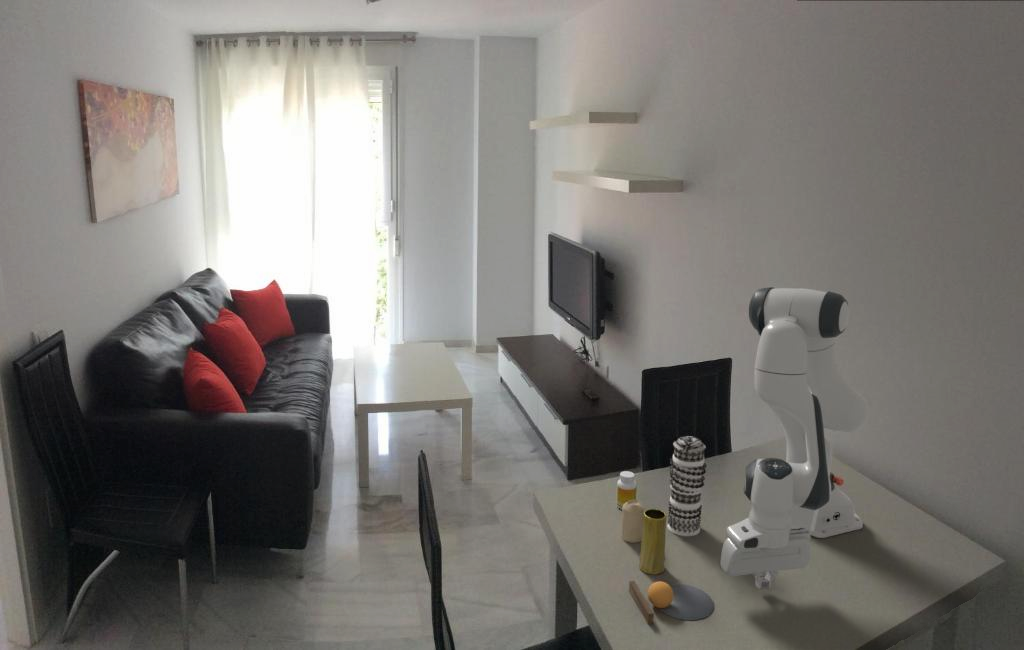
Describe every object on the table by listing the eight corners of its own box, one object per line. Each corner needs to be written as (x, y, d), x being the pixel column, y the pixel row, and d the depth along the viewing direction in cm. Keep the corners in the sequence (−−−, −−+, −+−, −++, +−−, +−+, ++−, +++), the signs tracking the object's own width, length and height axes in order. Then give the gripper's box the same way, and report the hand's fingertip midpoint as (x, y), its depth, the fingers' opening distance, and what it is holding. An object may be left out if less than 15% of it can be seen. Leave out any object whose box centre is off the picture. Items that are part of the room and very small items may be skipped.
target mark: (698, 581, 174) (698, 581, 174) (724, 616, 161) (724, 615, 161) (645, 587, 171) (645, 587, 171) (667, 623, 159) (667, 622, 159)
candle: (642, 544, 189) (644, 508, 187) (620, 541, 190) (622, 506, 188) (643, 533, 195) (645, 498, 192) (621, 530, 196) (623, 495, 193)
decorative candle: (674, 538, 192) (680, 448, 186) (660, 521, 201) (665, 434, 194) (707, 535, 194) (714, 445, 187) (691, 517, 202) (698, 431, 196)
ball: (651, 573, 166) (639, 593, 166) (661, 587, 160) (649, 609, 161) (671, 580, 167) (659, 601, 168) (681, 595, 162) (669, 616, 163)
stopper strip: (633, 590, 170) (634, 580, 170) (653, 623, 159) (654, 613, 158) (628, 591, 170) (629, 581, 169) (648, 624, 159) (648, 614, 158)
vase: (636, 561, 182) (639, 507, 178) (660, 560, 182) (664, 507, 179) (642, 575, 176) (645, 520, 172) (667, 574, 177) (671, 519, 173)
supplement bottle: (636, 511, 206) (638, 478, 203) (617, 510, 206) (618, 478, 203) (634, 501, 211) (635, 470, 209) (615, 501, 211) (616, 469, 209)
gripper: (803, 520, 171) (797, 573, 174) (719, 528, 167) (715, 583, 171) (819, 534, 165) (812, 589, 168) (733, 543, 161) (728, 599, 165)
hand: (762, 586), depth 169 cm, fingers closed
